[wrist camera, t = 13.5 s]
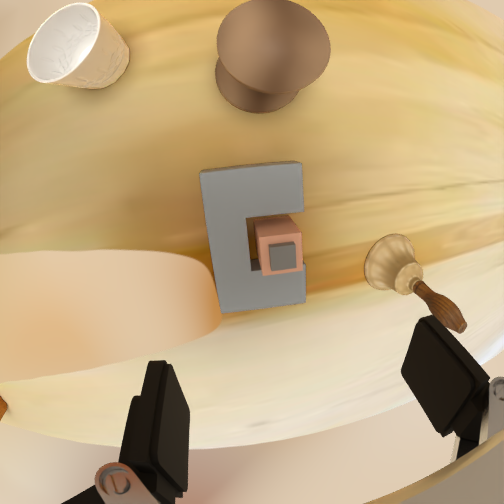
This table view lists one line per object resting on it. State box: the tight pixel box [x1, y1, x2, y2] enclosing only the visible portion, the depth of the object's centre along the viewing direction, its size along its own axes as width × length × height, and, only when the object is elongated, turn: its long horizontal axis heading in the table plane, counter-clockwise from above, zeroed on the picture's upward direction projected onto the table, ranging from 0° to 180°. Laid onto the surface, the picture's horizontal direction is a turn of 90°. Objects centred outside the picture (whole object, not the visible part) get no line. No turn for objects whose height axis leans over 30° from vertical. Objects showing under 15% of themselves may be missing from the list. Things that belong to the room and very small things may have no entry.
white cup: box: [27, 3, 129, 89], centre depth 18 cm, size 8×8×10 cm
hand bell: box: [364, 234, 467, 334], centre depth 28 cm, size 8×8×16 cm
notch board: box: [199, 161, 306, 313], centre depth 31 cm, size 16×10×3 cm, turn 5°
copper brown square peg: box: [254, 216, 303, 276], centre depth 29 cm, size 4×4×7 cm
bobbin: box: [215, 0, 331, 113], centre depth 20 cm, size 9×9×11 cm
